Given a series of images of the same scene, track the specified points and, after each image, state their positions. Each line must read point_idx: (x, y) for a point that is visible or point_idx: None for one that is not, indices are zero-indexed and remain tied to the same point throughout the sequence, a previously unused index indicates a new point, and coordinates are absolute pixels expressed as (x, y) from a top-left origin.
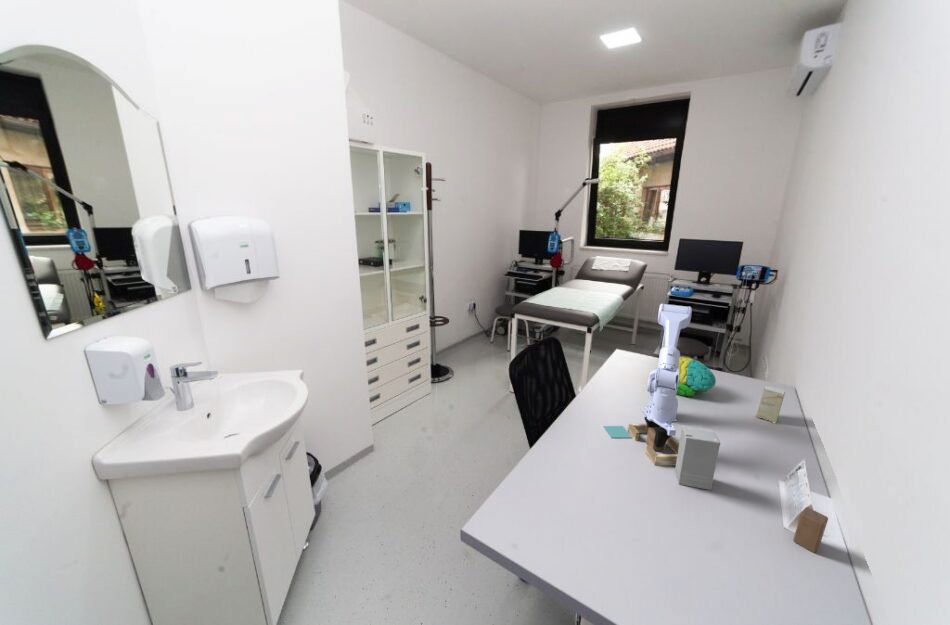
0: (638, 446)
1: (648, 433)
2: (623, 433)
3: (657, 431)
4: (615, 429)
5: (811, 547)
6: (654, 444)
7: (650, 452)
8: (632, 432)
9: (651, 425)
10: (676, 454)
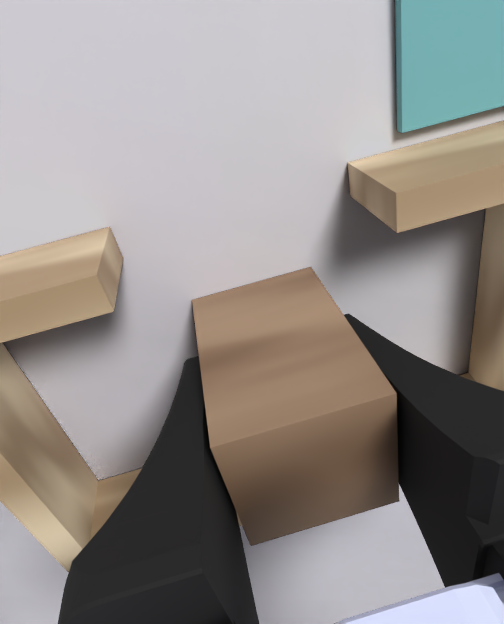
0: (240, 177)
1: (341, 343)
2: (487, 34)
3: (81, 584)
4: None
5: None
6: (200, 352)
7: (1, 287)
8: (458, 153)
9: (417, 442)
10: (40, 506)
